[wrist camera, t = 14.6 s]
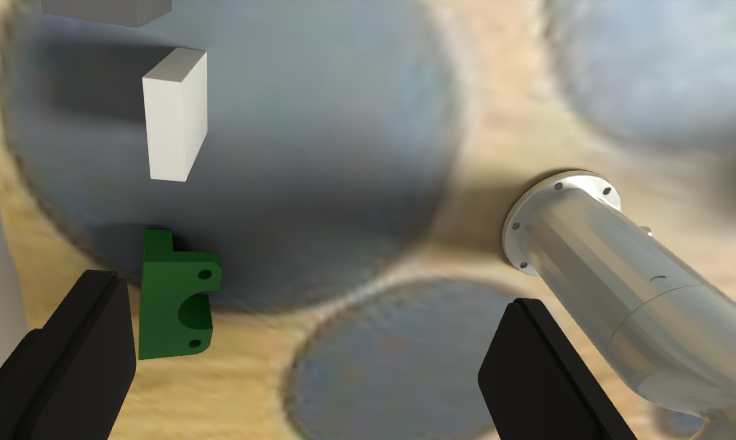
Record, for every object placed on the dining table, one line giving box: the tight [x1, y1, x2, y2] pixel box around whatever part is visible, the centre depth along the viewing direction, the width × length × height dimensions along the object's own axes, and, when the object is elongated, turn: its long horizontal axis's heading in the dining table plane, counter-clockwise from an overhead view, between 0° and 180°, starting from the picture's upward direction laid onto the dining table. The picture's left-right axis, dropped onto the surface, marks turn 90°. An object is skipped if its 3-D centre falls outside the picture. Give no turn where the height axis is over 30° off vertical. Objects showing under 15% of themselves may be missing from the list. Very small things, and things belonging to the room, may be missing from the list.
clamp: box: [138, 229, 222, 360], centre depth 39 cm, size 12×6×9 cm, turn 158°
